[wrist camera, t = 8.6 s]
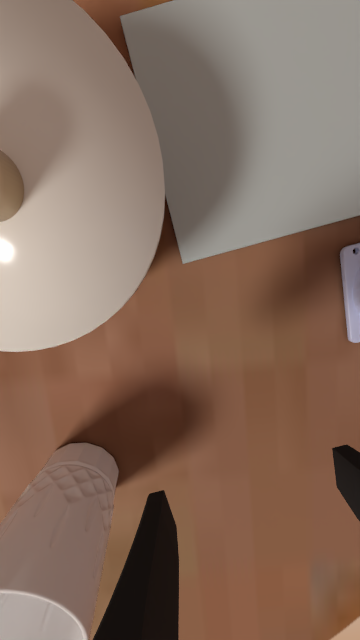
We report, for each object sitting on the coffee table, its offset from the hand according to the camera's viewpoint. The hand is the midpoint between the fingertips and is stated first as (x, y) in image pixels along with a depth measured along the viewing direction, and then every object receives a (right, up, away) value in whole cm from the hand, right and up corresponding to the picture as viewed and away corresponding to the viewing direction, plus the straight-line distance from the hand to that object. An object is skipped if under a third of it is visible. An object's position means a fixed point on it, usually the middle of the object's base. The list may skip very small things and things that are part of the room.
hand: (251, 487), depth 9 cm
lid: (-11, +12, 0) cm, 16 cm away
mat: (+3, +20, +6) cm, 21 cm away
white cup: (-12, -7, +12) cm, 19 cm away
